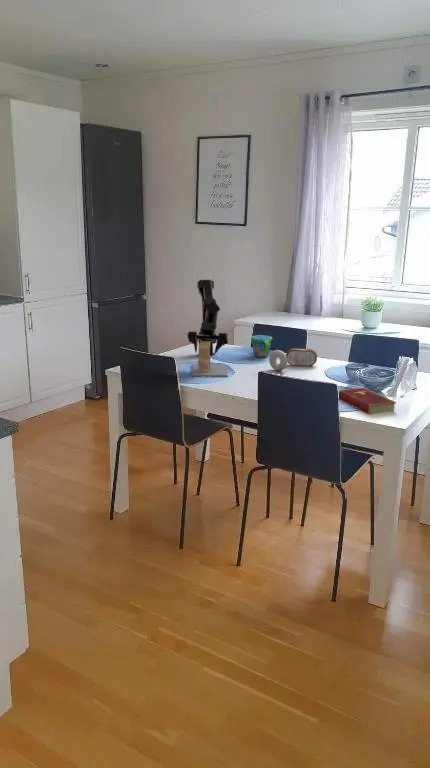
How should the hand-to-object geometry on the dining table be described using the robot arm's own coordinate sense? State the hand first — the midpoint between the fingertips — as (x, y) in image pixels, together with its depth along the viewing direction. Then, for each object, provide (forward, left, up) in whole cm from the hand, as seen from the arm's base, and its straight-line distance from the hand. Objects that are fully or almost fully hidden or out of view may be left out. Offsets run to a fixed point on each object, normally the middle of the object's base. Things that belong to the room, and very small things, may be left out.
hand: (205, 352), depth 285 cm
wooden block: (+2, -2, -8) cm, 8 cm away
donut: (+21, +27, -9) cm, 35 cm away
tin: (+21, +43, -9) cm, 49 cm away
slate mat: (+2, +1, -9) cm, 9 cm away
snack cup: (-5, +41, -9) cm, 42 cm away
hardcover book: (+79, +17, -9) cm, 81 cm away
